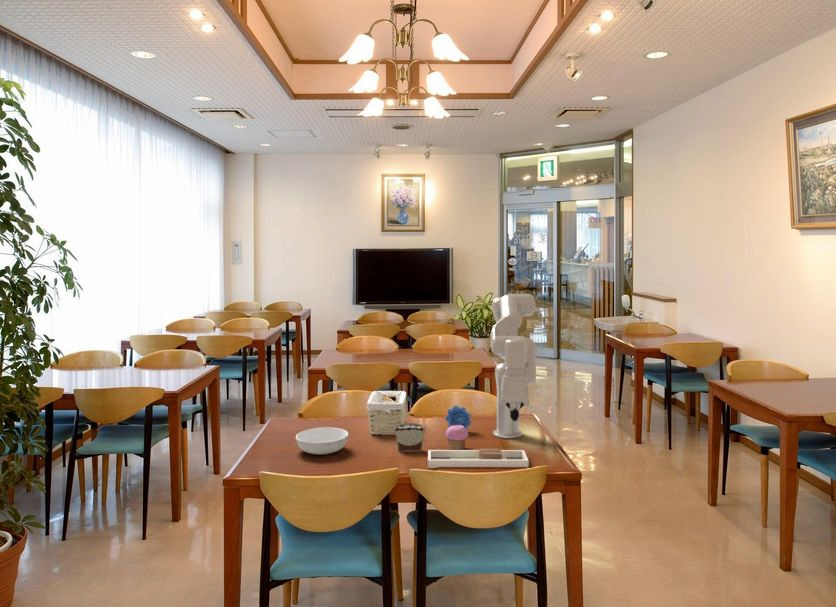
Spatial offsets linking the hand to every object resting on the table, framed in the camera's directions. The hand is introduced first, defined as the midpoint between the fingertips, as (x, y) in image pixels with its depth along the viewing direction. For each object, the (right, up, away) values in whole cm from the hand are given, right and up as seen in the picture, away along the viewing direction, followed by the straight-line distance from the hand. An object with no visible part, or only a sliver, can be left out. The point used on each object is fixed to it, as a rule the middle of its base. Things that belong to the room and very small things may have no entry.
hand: (514, 420), depth 241 cm
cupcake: (-21, -15, +18) cm, 31 cm away
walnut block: (-9, -16, +2) cm, 18 cm away
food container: (-40, -15, +19) cm, 47 cm away
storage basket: (-50, -13, +50) cm, 72 cm away
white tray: (-14, -17, +2) cm, 22 cm away
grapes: (-18, -13, +42) cm, 48 cm away
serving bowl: (-75, -16, +17) cm, 78 cm away
